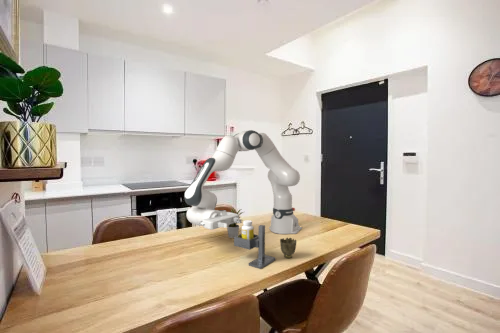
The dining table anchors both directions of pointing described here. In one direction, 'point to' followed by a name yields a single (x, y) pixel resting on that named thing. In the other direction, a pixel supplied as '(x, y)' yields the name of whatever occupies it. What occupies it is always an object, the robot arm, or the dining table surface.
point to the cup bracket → (258, 243)
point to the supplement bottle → (247, 230)
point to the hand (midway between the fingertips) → (234, 223)
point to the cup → (288, 247)
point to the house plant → (233, 227)
